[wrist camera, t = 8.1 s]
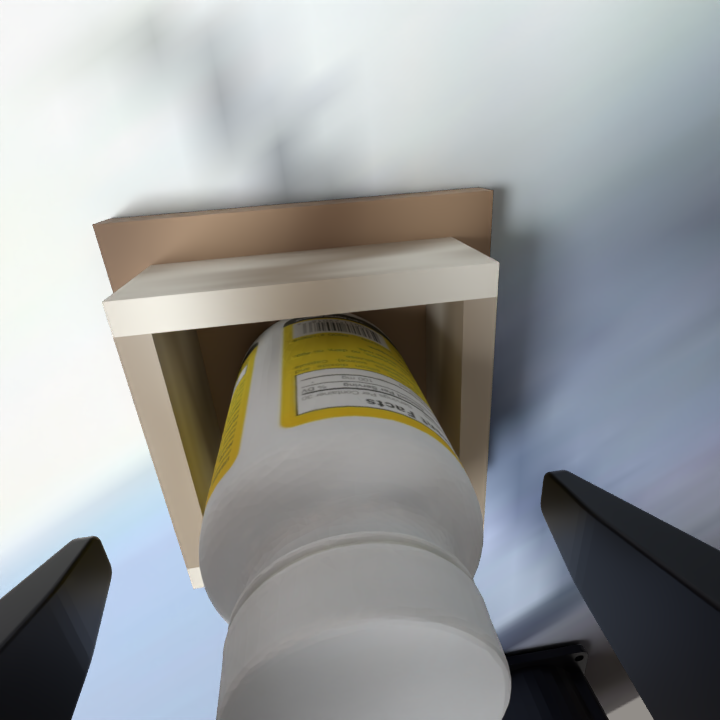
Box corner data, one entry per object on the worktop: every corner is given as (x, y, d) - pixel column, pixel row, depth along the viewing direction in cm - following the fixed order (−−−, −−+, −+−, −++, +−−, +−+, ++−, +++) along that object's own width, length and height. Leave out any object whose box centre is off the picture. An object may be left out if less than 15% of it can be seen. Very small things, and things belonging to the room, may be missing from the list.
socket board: (478, 187, 14) (556, 201, 10) (467, 473, 19) (517, 566, 14) (109, 218, 13) (18, 249, 9) (193, 511, 18) (160, 623, 13)
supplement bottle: (300, 479, 16) (305, 867, 7) (202, 364, 14) (40, 721, 5) (433, 403, 16) (611, 725, 7) (352, 270, 13) (461, 492, 5)
